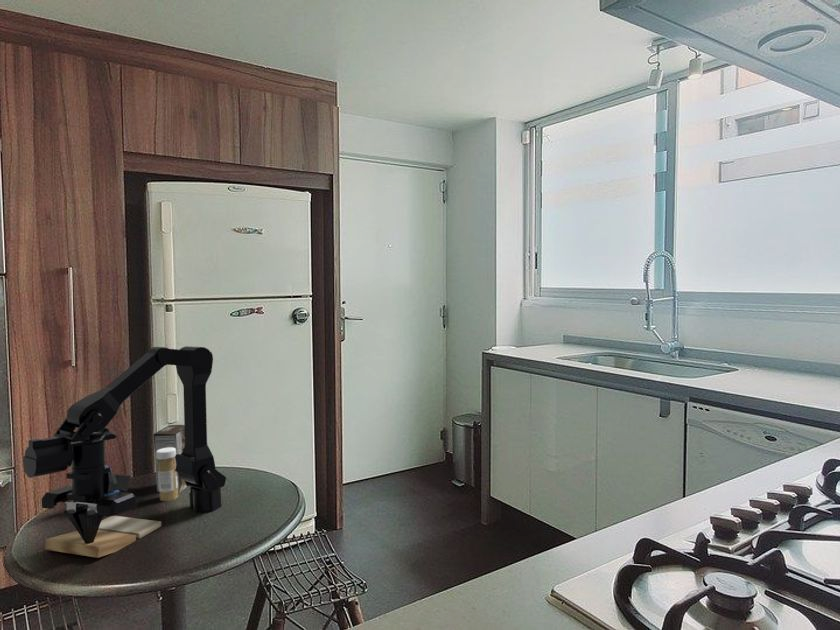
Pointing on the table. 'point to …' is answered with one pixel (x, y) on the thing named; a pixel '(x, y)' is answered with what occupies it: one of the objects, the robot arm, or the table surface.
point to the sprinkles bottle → (167, 474)
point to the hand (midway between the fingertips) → (89, 543)
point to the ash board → (129, 525)
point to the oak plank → (100, 546)
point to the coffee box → (170, 438)
